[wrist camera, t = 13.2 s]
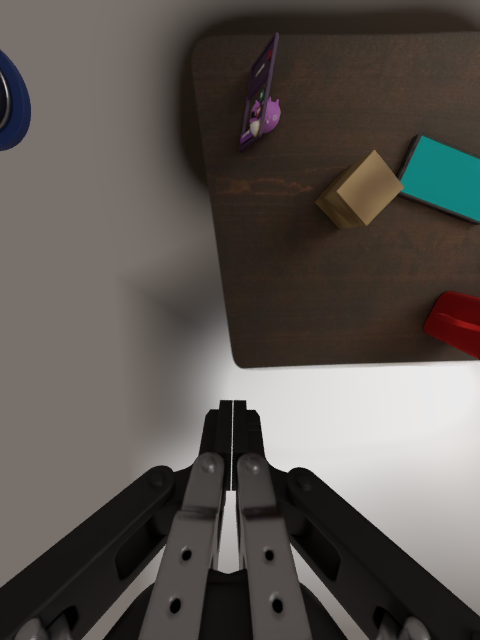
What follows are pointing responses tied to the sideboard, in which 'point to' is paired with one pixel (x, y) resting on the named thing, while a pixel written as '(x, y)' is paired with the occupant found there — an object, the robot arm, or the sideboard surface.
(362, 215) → the beech block
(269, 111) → the purple figure in frame
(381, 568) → the robot arm
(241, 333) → the sideboard surface
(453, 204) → the smartphone
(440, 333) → the mug
